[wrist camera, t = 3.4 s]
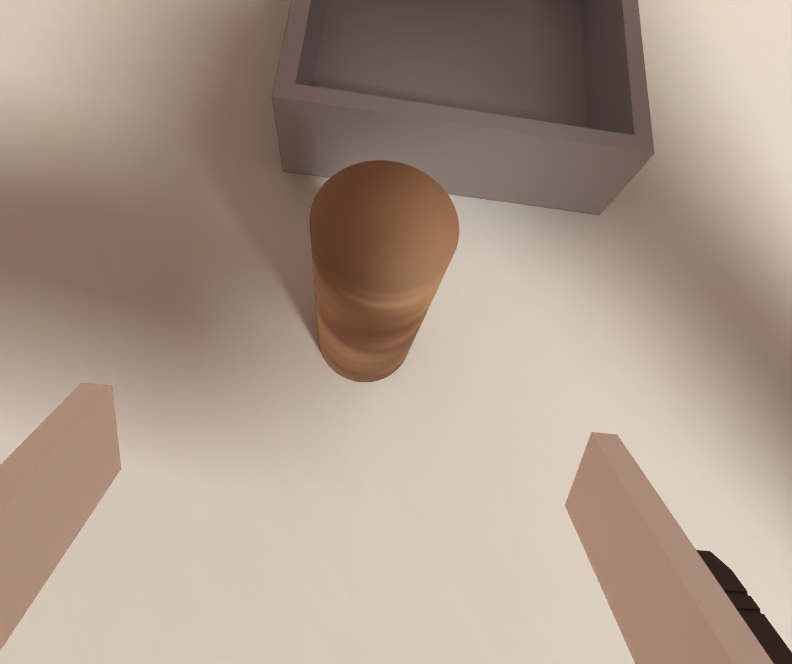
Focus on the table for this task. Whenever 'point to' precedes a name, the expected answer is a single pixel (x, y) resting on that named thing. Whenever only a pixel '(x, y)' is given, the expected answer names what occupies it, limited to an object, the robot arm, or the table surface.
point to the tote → (470, 95)
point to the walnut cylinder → (377, 263)
